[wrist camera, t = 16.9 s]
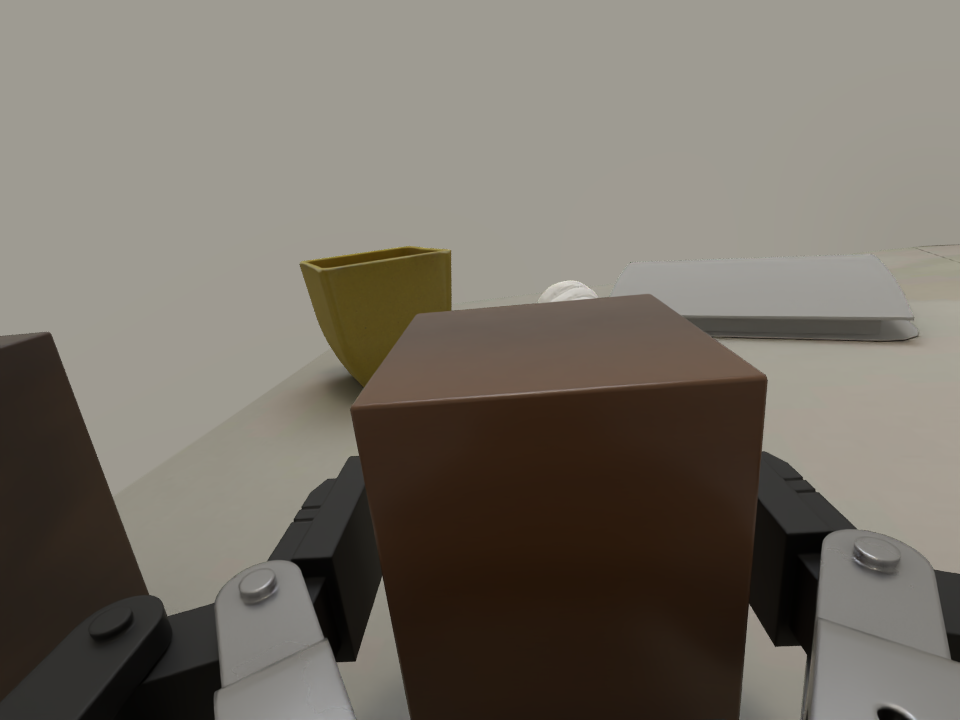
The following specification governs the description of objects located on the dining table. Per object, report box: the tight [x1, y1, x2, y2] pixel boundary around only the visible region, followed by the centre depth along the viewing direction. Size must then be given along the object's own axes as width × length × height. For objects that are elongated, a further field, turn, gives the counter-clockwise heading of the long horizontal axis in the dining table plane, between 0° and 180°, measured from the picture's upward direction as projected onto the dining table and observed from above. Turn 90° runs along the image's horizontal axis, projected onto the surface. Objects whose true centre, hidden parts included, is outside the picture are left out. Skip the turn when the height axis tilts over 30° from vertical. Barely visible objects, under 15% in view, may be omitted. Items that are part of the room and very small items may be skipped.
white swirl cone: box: [537, 281, 598, 303], centre depth 37 cm, size 6×6×6 cm
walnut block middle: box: [350, 294, 768, 720], centre depth 10 cm, size 5×5×10 cm
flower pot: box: [300, 246, 451, 387], centre depth 37 cm, size 9×9×9 cm
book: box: [609, 254, 918, 341], centre depth 44 cm, size 15×23×4 cm, turn 65°
